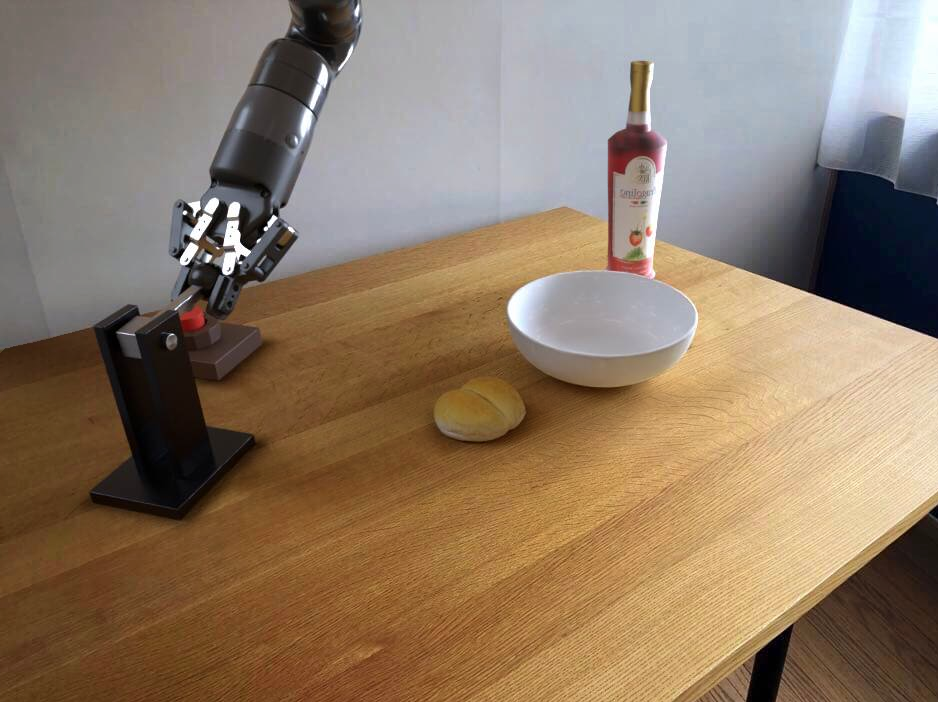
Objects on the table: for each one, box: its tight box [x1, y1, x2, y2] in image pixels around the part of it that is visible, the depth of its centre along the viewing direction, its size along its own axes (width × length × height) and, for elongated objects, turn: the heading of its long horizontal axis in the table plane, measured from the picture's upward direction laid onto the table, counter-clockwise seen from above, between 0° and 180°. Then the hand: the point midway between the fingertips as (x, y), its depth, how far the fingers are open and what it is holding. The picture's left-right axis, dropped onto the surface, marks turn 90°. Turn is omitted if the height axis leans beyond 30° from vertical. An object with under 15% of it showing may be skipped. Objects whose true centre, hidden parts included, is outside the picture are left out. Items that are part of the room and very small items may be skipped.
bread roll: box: [433, 376, 527, 442], centre depth 86 cm, size 8×9×4 cm
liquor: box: [603, 60, 668, 279], centre depth 109 cm, size 7×7×28 cm
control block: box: [183, 310, 263, 382], centre depth 98 cm, size 12×9×4 cm
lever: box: [116, 262, 225, 359], centre depth 76 cm, size 13×4×4 cm, turn 164°
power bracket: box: [88, 303, 257, 521], centre depth 75 cm, size 12×9×16 cm
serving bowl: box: [505, 269, 699, 388], centre depth 95 cm, size 21×21×7 cm
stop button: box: [180, 305, 205, 332], centre depth 96 cm, size 4×4×2 cm
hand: (197, 311), depth 80 cm, fingers closed on lever, 3 cm apart
